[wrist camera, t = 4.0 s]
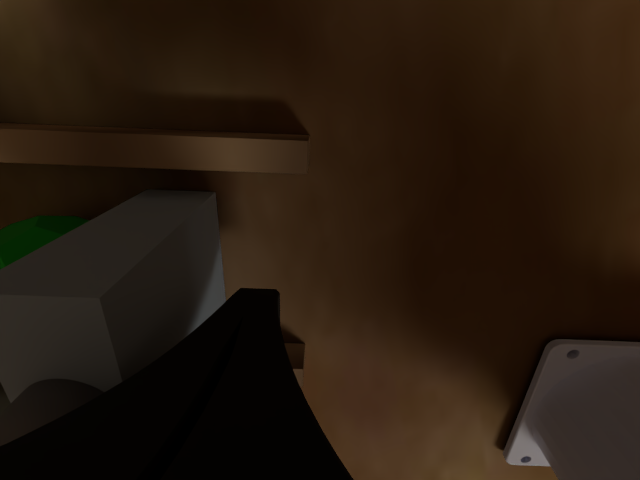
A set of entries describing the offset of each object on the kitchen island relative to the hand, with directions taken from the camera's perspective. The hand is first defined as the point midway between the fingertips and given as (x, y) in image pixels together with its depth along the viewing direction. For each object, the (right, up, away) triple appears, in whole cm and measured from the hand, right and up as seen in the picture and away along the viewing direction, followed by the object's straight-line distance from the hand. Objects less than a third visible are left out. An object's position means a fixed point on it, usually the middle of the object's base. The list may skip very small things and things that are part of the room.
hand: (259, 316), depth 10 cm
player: (-3, +2, +3) cm, 5 cm away
